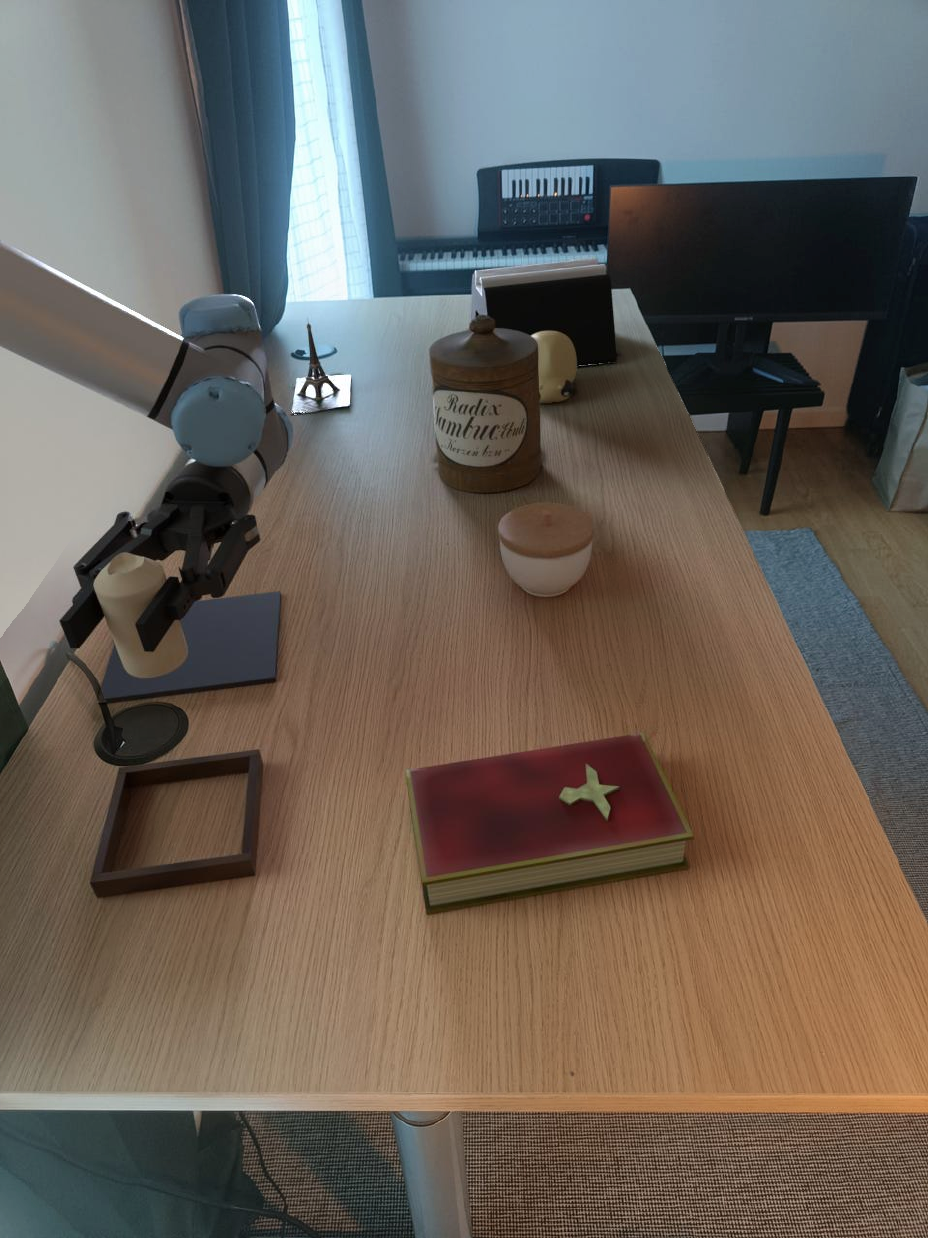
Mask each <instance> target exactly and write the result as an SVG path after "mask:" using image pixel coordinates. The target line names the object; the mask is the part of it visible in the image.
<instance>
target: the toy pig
mask: <svg viewBox="0 0 928 1238" xmlns="http://www.w3.org/2000/svg"><path fill="white" fill-rule="evenodd" d="M531 336H532V337H533V338H534V339H535V340H536V341H537V344H538V371H539V398H540V404H553V403H552V402H556V403H561V402H564V401H566V400H567V399H569V398H570V397H571V395H572V394H573V392H574V384H573V383H574V381H575V378H576V377H577V376H576V375H577V370H578V367H577V357H576V352H575V348H574V346H573V343H572V341H571V340H570V339H569V338H568V337H567V336H566V335H565V334H563V333H560V332H557V331H541V332H537V333H535V334H533V335H531ZM560 401H561V402H560Z"/></svg>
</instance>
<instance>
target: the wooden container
mask: <svg viewBox="0 0 928 1238" xmlns="http://www.w3.org/2000/svg"><path fill="white" fill-rule="evenodd" d="M428 359H429V361H428V363H429V370H430V374H431V384H432V387H431V389H432V404H433V405H432V406H433V425H434V439H435V441H434V442H435V449H436V461H437V463H436V464H437V472H438V476H439V478H440V479H441V480H442V481H443V482H444V483H445V484H446V485H448V486H450V487H452V488H455V489H457V490H460V491H465V492H469V493H480V494H490V493H491V494H492V493H502V492H507V491H511V490H514V489H518V488H520V487H523V486H525V485H527V484H529V483H530V482H532V481H533V480H534V479H536V477H537V476H538V475H539V474H540V472H541V443H542V442H541V438H542V437H541V436H542V435H541V403H540V398H539V371H538V344H537V341H536V340H535V339H534V338H533V337H532V336H530V335H528V334H525V333H523V332H519V331H515V330H510V329H499V328H495V321H494V319H492V318H490V317H489V316H487V315H478V316H476V317H475V318H474V319H472V320H471V319H470V320H469V323H468V329H467V330H462V331H458V332H455V333H451V334H448V335H445V336H443V337H441V338H438V339H437V340H435V341H434V342H433V343H432V344H431V345H430V346H429V348H428Z"/></svg>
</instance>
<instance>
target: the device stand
mask: <svg viewBox="0 0 928 1238" xmlns="http://www.w3.org/2000/svg"><path fill="white" fill-rule="evenodd" d="M470 299H471V301H470V321H471V320H472V319H474V318H475V317H476V316H478V315H487V316H489V317H490V318H492V319H494V321H495V328H499V329H510V330H515V331H519V332H523V333H525V334H528V335H530V336H531V335H533V334H535V333H537V332H541V331H557V332H560V333H563V334H565V335H566V336H567V337H568V338H569V339H570V340H571V341H572V343H573V346H574V348H575V352H576V357H577V366H579V365H588V364H599V363H608V362H616V363H617V362H618V353H617V351H618V350H617V341H616V339H617V338H616V329H615V327H616V325H615V316H614V315H615V314H614V303H613V302H614V301H613V290H612V279H611V276H610V274H609V273H607V266H606V264H605V263H602V264H599V258H598V257H591V258H590V257H589V258H581V259H580V258H579V259H570V260H563V261H562V260H561V261H553V262H543V263H534V264H524V265H516V266H505V267H497V268H486V269H478V270H474V273H473V274H472V277H471V298H470Z"/></svg>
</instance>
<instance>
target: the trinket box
mask: <svg viewBox="0 0 928 1238" xmlns="http://www.w3.org/2000/svg"><path fill="white" fill-rule="evenodd" d="M497 529H498V530H497V531H498V538H499V550H500V555H501V560H502V563H503V565H504V569H505V570H506V572H507V575H508V576H509V577H510V578H511V580H512V581H513V582H514V583H515V584H517V585H518V586H519V587H520V588H521V589H522V590H523V591H524V592H525V593H527V594H529V595H531V596H535V597H539V598H552V597H553V598H554V597H557V596H561V595H563V594H565V593H567V592H568V591H569V590H570V589H571V588H572V587H573V586H574V585H575V584H577V583H578V582H579V581H580V580H581V578H583V576H584V575H585V573H586V571H587V569H588V566H589V565H590V562H591V557H592V552H593V544H594V536H595V523H594V521H593V519H592V517H591V516H590V515H588V513H587V512H585V511H584V510H582V509H581V508H578V507H576V506H572V505H569V504H567V503H559V502H550V501H549V502H534V503H528V504H525V505H521V506H519V507H516V508H514V509H511V510H509V511H508V512H507V513H506V514H505V515H503V517H501V519H500V521H499V523H498V528H497Z"/></svg>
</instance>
